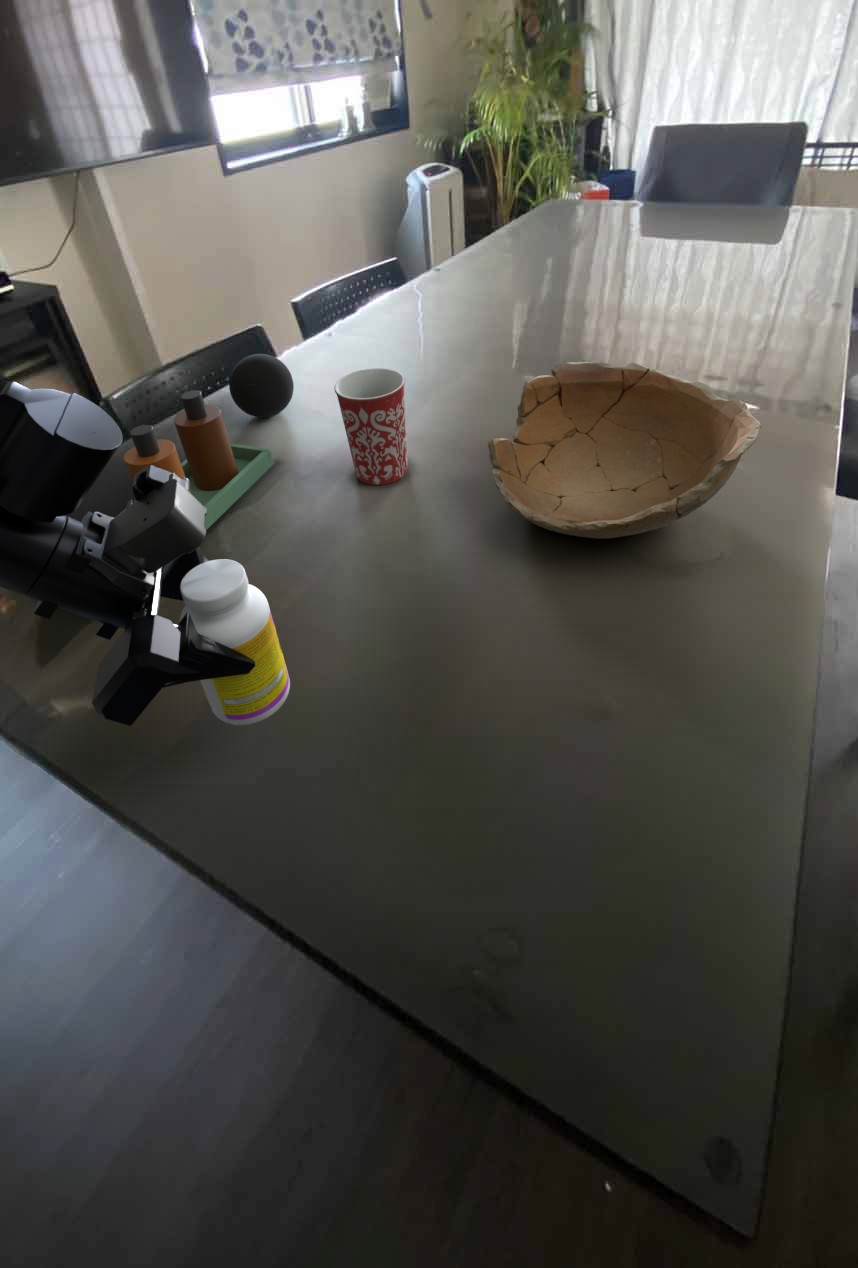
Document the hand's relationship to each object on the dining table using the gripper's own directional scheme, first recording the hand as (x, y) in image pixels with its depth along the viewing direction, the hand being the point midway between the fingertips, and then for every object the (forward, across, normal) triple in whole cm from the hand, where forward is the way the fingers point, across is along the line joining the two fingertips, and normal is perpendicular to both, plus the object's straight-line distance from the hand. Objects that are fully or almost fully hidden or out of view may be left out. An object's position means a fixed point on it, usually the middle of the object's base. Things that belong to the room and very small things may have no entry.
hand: (250, 635), depth 53 cm
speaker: (+10, +64, +7) cm, 65 cm away
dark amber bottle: (+4, +45, +12) cm, 47 cm away
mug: (+21, +41, -4) cm, 46 cm away
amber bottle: (0, +37, +16) cm, 41 cm away
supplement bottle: (+4, 0, +6) cm, 7 cm away
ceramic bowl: (+39, +23, -22) cm, 50 cm away
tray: (+1, +37, +17) cm, 41 cm away
